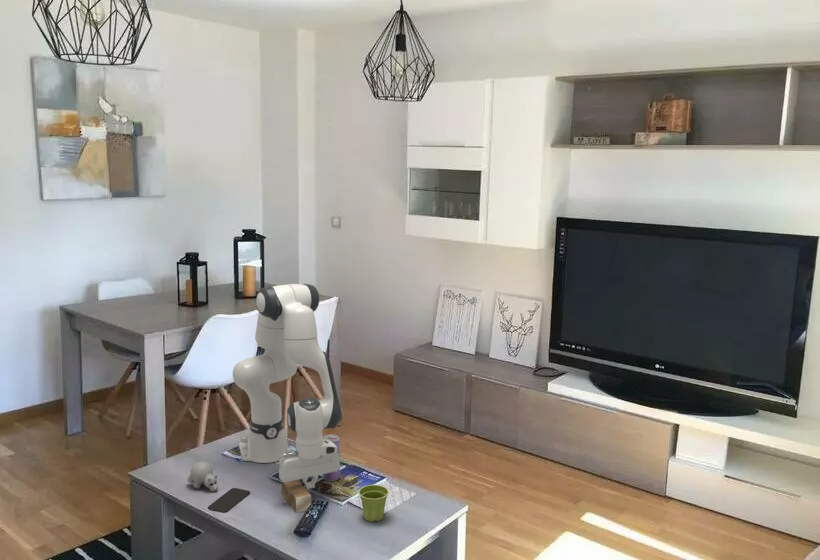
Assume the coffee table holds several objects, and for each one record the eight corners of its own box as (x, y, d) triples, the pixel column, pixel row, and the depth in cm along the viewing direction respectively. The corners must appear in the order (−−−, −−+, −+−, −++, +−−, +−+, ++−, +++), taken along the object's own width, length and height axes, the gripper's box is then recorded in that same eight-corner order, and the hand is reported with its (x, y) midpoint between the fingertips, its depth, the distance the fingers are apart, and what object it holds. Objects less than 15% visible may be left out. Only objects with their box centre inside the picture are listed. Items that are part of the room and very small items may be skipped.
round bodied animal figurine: (204, 502, 236) (209, 483, 233) (183, 480, 242) (188, 461, 238) (222, 494, 242) (227, 475, 238) (201, 472, 247) (205, 454, 244)
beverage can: (336, 482, 246) (337, 441, 244) (320, 480, 248) (320, 440, 245) (341, 475, 252) (342, 435, 250) (325, 473, 253) (325, 433, 251)
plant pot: (378, 528, 218) (378, 501, 216) (352, 519, 222) (352, 493, 221) (393, 514, 226) (394, 489, 224) (368, 507, 230) (369, 482, 229)
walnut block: (296, 512, 226) (281, 494, 238) (311, 509, 228) (296, 490, 240) (296, 498, 225) (281, 480, 237) (311, 494, 227) (295, 477, 239)
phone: (205, 508, 227) (232, 487, 240) (205, 510, 227) (232, 489, 241) (225, 512, 224) (251, 491, 238) (225, 514, 224) (251, 493, 238)
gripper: (282, 458, 224) (282, 499, 227) (341, 446, 234) (341, 485, 237) (275, 451, 229) (276, 491, 232) (334, 439, 240) (333, 477, 242)
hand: (309, 488), depth 234 cm, fingers closed
